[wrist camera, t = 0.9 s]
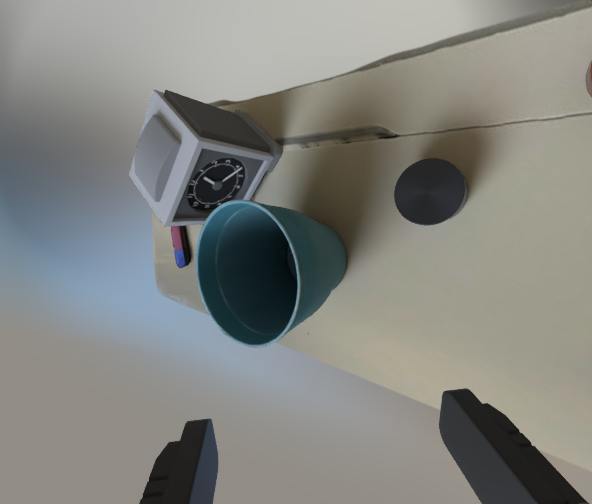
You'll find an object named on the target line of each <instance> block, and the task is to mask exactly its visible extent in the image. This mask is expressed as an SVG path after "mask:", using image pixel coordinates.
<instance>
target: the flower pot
mask: <svg viewBox="0 0 592 504" xmlns="http://www.w3.org/2000/svg"><path fill="white" fill-rule="evenodd" d="M290 251H292V255H291V254H290ZM345 270H346V252H345V248H344V245H343V243H342V241H341V239H340V237H339V236H338V235H337V234H336V233H335V232H334V231H333V230H332V229H331V228H330V227H328V226H326V225H324V224H321V223H317V222H316V221H314V220H313V219H311V218H309V217H308V216H306V215H304V214H302V213H299V212H297V211H294V210H291V209H287V208H282V207H276V206H269V205H265V204H260V203H257V202H254V201H250V200H242V199H237V200H231V201H228V202H225V203H223V204H221V205H220V206H218V207H217V208H216V209H215V210H214V211H213V212H212V213H211V214H210V215H209V217H208V218H207V220H206V221H205V223H204V225H203V227H202V230H201V232H200V235H199V239H198V243H197V249H196V276H197V282H198V287H199V291H200V294H201V297H202V300H203V303H204V305H205V307H206V309H207V311H208V313H209V315H210V317H211V318H212V320H213V321H214V323H215V324H216V325H217V326H218V328H219V329H220V330H221V331H222V332H223V333H224V334H225V335H226V336H228V337H229V338H230V339H232V340H233V341H235V342H236V343H239V344H241V345H244V346H247V347H252V348H261V347H266V346H269V345H271V344H273V343H275V342H277V341H278V340H280V339H281V338H282V337H283V336H284V335H285V334H286V333H287V332H289V331H290V330H292V329H293V328H294V327H295V326H297V325H298V324H300V323H301V322H303V321H304V320H306V319H307V318H308V317H310V316H311V315H312V314H313V313H315V312H316V311H317V310H318V309H319V308H320V307H321V306H322V304H323V303H324V302H325V301H326V299H327V298H328V296H329V294H330V293H331V291H332V290H333V289H334V288H336V287H337V286H338V284H339V283H340V282H341V280H342V278H343V276H344V273H345Z"/></svg>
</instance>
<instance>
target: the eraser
mask: <svg viewBox="0 0 592 504" xmlns="http://www.w3.org/2000/svg"><path fill="white" fill-rule="evenodd" d="M171 234H172V240H173V247H174V249H175V250H174V253H175V259H176V263H177V266H178V267H179V268H183V267H185V266H187V265H188V264H189V263H190V253H189V247H188V242H187V236H186V230H185V226H172V227H171Z"/></svg>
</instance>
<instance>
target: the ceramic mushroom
mask: <svg viewBox="0 0 592 504" xmlns="http://www.w3.org/2000/svg"><path fill="white" fill-rule="evenodd" d="M586 87H587V91H588V93H589V95H590V96H591V97H592V60H591V62H590V64H589V67H588V69H587V73H586Z"/></svg>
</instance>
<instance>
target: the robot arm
mask: <svg viewBox="0 0 592 504" xmlns="http://www.w3.org/2000/svg"><path fill="white" fill-rule="evenodd" d="M439 429H440V433H441V436H442V439H443V441H444V444H445V445H446V447H447V449H448V450H449V452H450V454H451V455H452V457H453V458H454V460H455V461H456V463H457V465H458V466H459V468H460V469H461V471H462V473H463V474H464V475H465V477H466V479H467V480H468V482H469V484H470V485H471V487H472V488H473V490H474V492H475V493H476V495H477V496H478V498H479V500H480V501H481V503H482V504H589V503H588V502H587V501H586V500H584V499H583V498H582V497H581V496H580V494H579V493H578V492H577V491H576V490H575V489H574V488H573V487H572V486H571V485H570V484H569V483H568V482H567V481H566V479H565V478H564V477H563V476H562V475H561V474H560V473H559V472H558V471H557V470H556V469H555V468H554V467H553V466H552V465H551V463H549V461H548V460H547V459H546V458H545V457H544V456H543V455H542V454H541V453H540V452H539V451H538V450H537V449H536V447H535V446H532V445H531V442H530V441H529V440H528V439H527V438H526V437H525V436H524V435H523V434H522V433H520V432H519V429H518V428H517V427H516V426H515V425H514V424H513V423H512V422H511V421H510V420H509V419H508V418H507V417H506V416H505V415H504V414H503V413H501V412H500V411H498V410H497V409H495V408H494V407H492V406H491V405H489V404H488V403H486V404H482V403H481V402H480V401H479V400H478V398H477V397H476V396H475V395H474V394H473V393H472V392H471V391H470V390H468V389H458V390H449V391H444V392H443V395H442V404H441V412H440V421H439ZM217 473H218V451H217V446H216V441H215V435H214V429H213V424H212V420H211V419H202V420H194V421H188V422H187V423H186V424H185V427H184V430H183V433H182V436H181V440H180V441H175V442H169V443H168V444H167V446H166V447H165V448H164V449H163V451H162V452H161V454H160V455H159V456H158V457H157V459H156V461H155V464H154V467H153V469H152V472H151V474H150V477H149V482H147V485H146V487H145V490H144V493H143V498H142V499H141V501H140V503H139V504H213V498H214V492H215V486H216V479H217Z"/></svg>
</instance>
